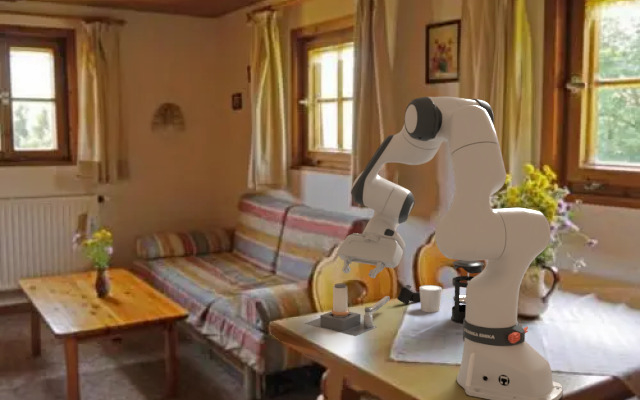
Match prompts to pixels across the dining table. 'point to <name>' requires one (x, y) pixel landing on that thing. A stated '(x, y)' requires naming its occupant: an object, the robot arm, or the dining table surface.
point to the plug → (340, 301)
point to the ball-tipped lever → (376, 306)
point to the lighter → (408, 295)
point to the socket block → (344, 323)
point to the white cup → (430, 298)
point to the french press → (470, 267)
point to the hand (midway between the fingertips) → (358, 274)
